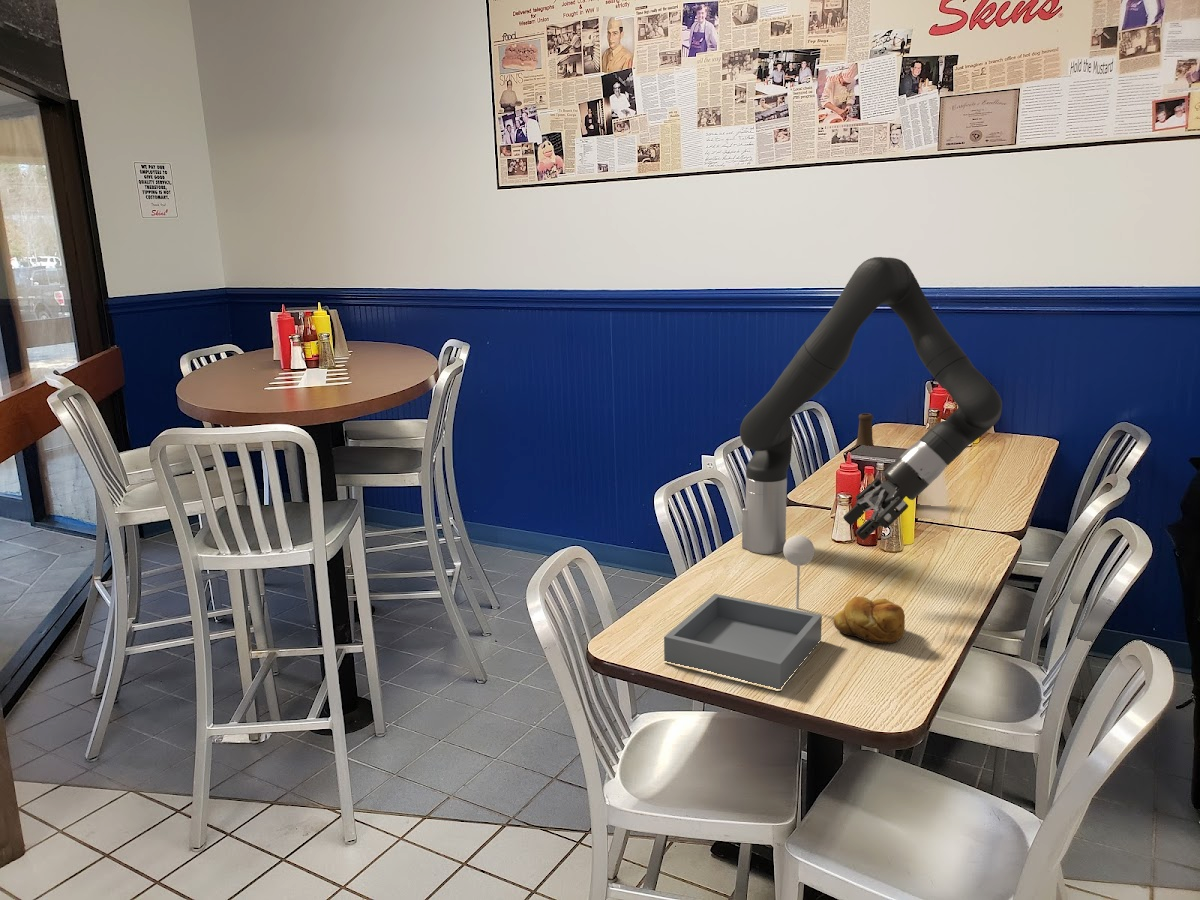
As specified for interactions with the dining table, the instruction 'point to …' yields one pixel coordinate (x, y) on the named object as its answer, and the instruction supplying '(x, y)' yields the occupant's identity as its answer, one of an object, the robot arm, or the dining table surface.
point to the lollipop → (798, 555)
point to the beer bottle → (865, 430)
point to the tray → (744, 640)
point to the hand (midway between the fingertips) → (852, 528)
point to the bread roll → (871, 620)
